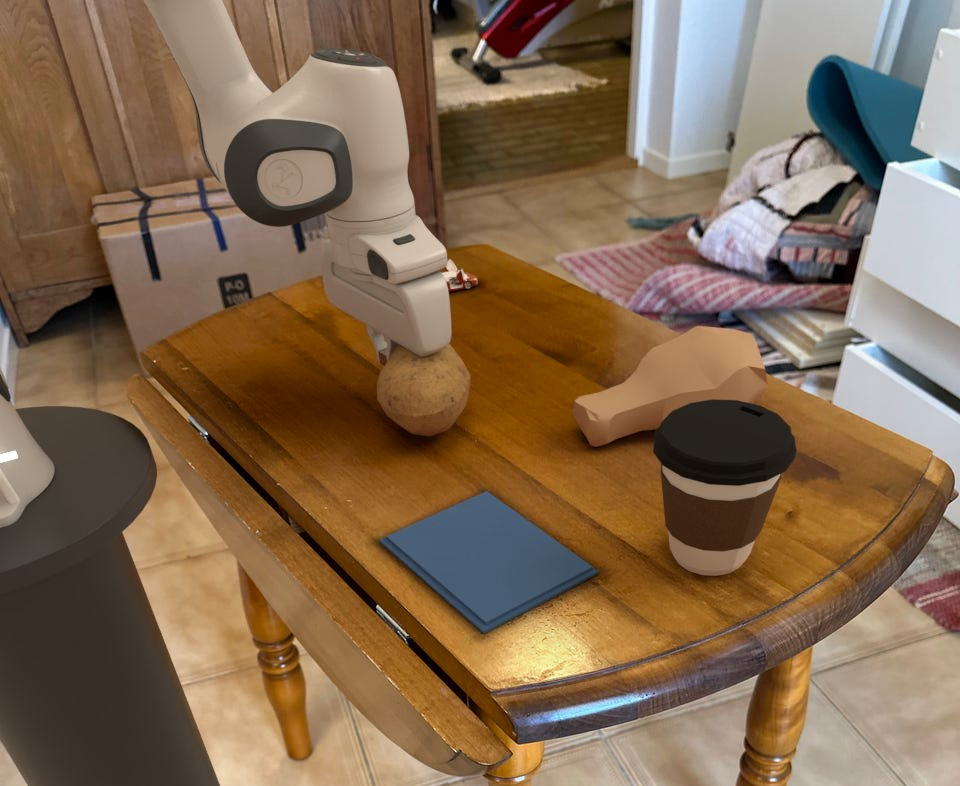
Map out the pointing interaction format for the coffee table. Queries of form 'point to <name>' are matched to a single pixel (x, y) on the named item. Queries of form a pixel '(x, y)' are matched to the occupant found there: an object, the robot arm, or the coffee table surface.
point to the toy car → (458, 278)
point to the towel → (487, 560)
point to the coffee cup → (719, 479)
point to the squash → (675, 383)
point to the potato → (423, 390)
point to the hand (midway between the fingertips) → (391, 365)
